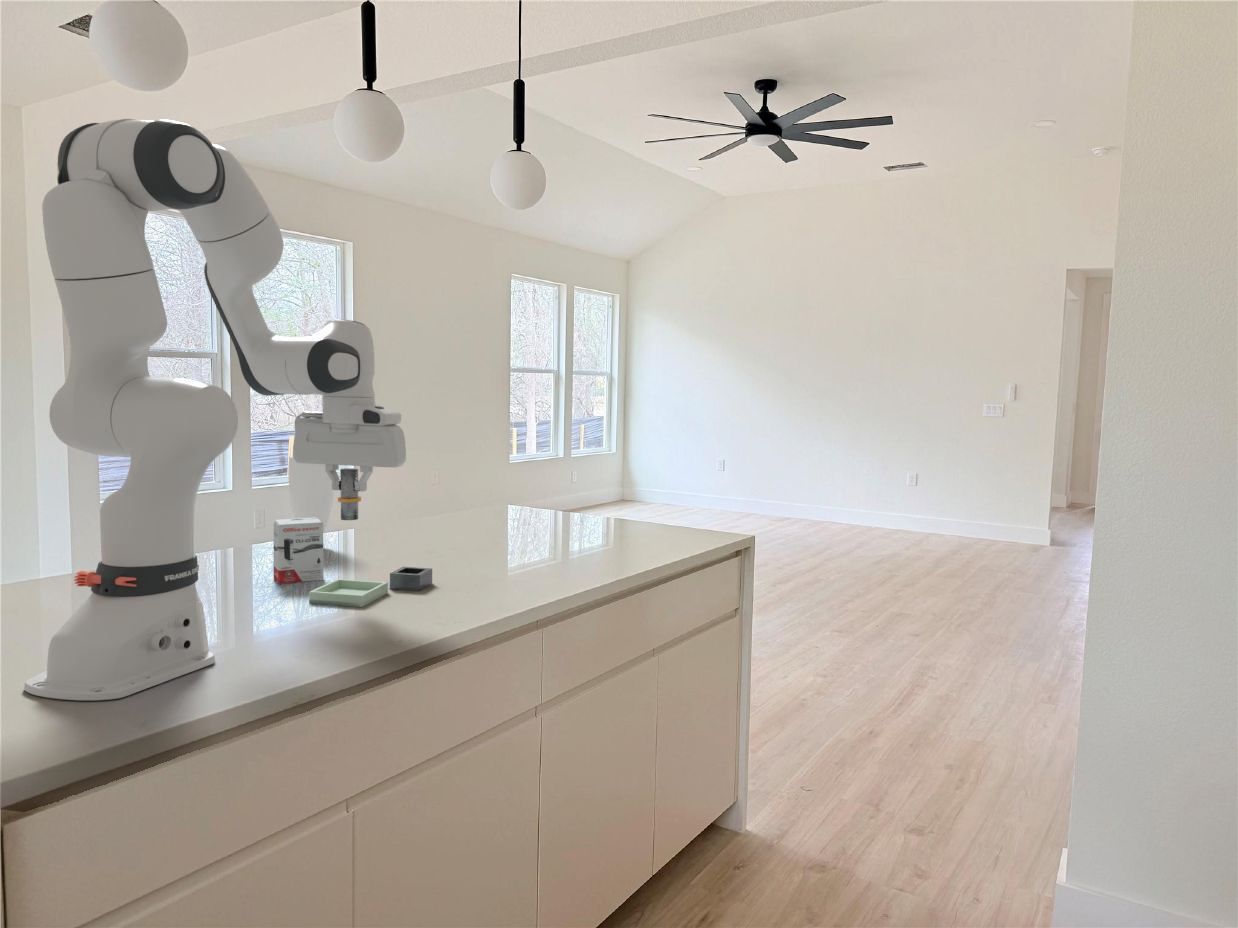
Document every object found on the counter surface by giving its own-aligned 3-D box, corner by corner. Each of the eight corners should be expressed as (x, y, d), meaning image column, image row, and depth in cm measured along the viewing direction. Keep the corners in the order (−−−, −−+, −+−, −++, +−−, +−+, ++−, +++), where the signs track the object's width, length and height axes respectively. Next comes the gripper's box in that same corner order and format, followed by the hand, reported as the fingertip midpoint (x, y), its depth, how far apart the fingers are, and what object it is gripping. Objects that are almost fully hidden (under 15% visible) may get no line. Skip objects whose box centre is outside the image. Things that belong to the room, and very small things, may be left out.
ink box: (278, 584, 157) (277, 523, 156) (273, 579, 161) (272, 519, 160) (324, 579, 161) (324, 520, 160) (318, 574, 165) (317, 516, 164)
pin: (354, 521, 145) (354, 470, 144) (333, 520, 146) (333, 469, 145) (365, 517, 149) (365, 468, 148) (344, 516, 150) (344, 467, 149)
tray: (362, 606, 143) (362, 595, 143) (309, 602, 145) (309, 591, 144) (387, 592, 153) (387, 582, 152) (337, 589, 154) (337, 578, 154)
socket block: (419, 590, 155) (419, 575, 154) (389, 588, 156) (389, 573, 155) (432, 583, 161) (432, 568, 160) (403, 581, 162) (403, 566, 161)
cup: (317, 553, 185) (316, 458, 183) (278, 549, 188) (277, 456, 186) (345, 545, 195) (344, 455, 193) (307, 541, 198) (306, 452, 196)
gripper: (284, 411, 144) (286, 489, 145) (394, 415, 141) (394, 495, 142) (304, 410, 150) (305, 485, 152) (409, 414, 147) (409, 490, 148)
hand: (349, 490), depth 147 cm, fingers closed on pin, 3 cm apart
